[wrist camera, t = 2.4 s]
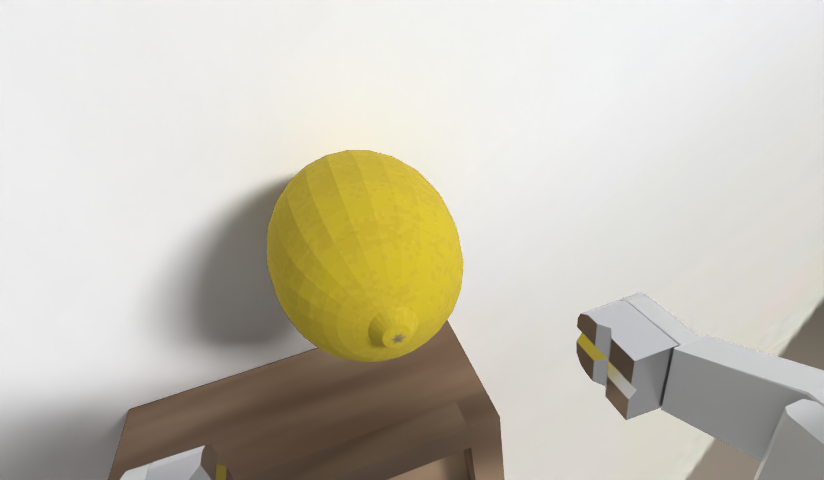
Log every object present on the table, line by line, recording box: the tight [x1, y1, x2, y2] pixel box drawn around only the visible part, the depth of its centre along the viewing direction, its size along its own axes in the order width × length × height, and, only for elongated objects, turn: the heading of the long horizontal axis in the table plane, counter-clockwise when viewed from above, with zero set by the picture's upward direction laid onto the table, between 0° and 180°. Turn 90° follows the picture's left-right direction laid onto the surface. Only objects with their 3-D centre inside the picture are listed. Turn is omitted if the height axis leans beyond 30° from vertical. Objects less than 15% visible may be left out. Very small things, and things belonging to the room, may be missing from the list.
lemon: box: [267, 150, 463, 362], centre depth 13 cm, size 6×6×8 cm
